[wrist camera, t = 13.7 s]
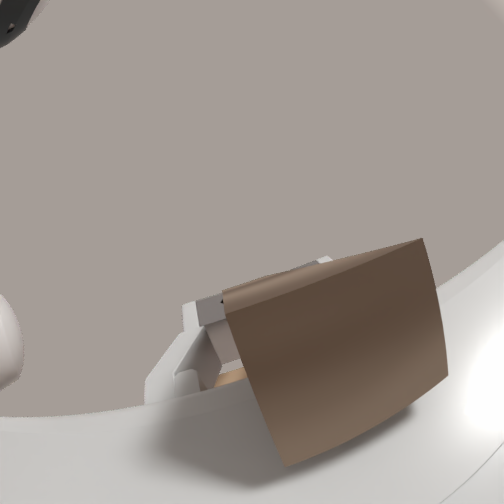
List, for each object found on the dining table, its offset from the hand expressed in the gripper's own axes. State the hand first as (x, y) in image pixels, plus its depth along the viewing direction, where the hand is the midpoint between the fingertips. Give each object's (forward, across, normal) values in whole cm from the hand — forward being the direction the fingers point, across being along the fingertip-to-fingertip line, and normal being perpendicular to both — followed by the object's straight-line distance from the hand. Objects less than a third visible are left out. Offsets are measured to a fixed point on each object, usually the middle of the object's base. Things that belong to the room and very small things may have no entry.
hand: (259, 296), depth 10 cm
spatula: (+2, 0, +3) cm, 4 cm away
